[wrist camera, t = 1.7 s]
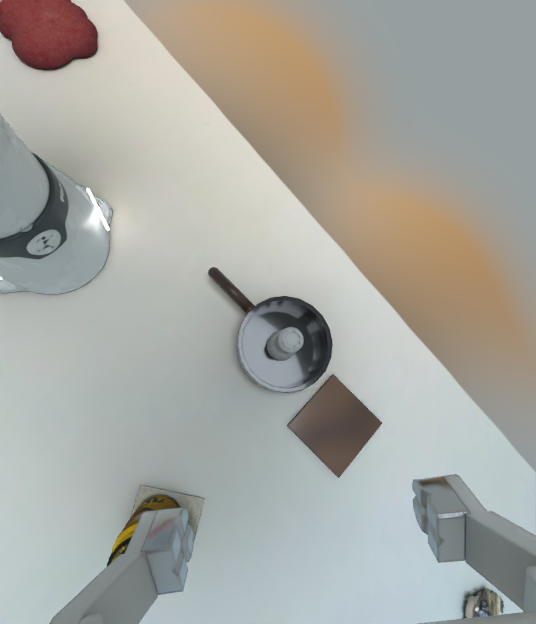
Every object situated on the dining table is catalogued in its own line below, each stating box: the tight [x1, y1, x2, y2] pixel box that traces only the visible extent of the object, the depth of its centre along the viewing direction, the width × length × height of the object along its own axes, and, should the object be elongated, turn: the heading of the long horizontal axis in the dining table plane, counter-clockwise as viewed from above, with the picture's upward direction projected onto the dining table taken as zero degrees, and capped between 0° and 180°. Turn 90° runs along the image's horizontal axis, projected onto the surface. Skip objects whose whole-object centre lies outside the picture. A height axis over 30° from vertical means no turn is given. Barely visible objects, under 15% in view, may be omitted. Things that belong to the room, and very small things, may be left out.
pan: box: [236, 296, 332, 393], centre depth 47 cm, size 13×13×4 cm
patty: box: [0, 0, 97, 69], centre depth 54 cm, size 18×14×2 cm
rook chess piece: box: [267, 327, 304, 361], centre depth 45 cm, size 4×4×8 cm
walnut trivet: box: [287, 375, 382, 478], centre depth 47 cm, size 10×10×1 cm
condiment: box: [107, 485, 204, 566], centre depth 36 cm, size 7×8×12 cm
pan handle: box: [208, 267, 255, 314], centre depth 46 cm, size 9×2×2 cm, turn 46°
